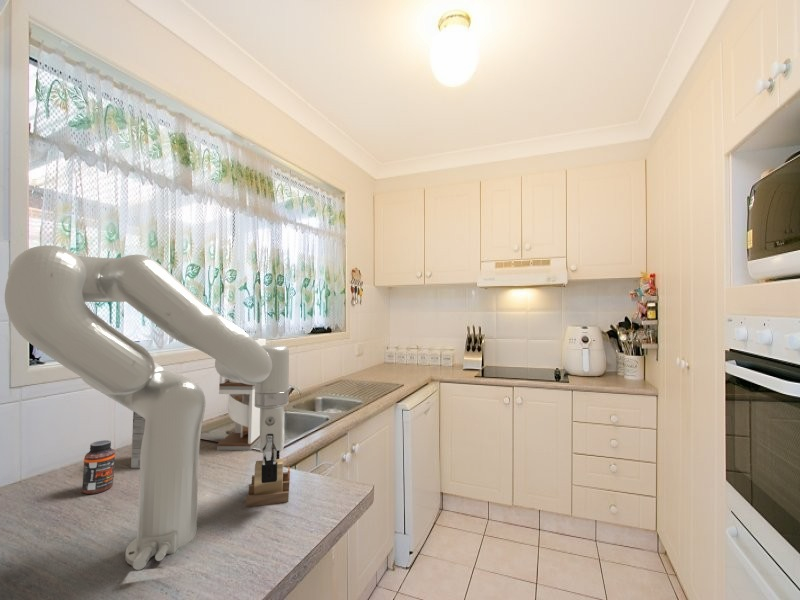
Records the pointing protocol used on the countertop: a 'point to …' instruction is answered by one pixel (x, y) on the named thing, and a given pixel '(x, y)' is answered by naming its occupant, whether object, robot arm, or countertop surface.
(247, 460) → the countertop surface
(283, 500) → the rack
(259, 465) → the block
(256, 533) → the countertop surface
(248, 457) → the countertop surface
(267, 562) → the countertop surface
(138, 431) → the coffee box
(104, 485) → the supplement bottle
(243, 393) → the display case
